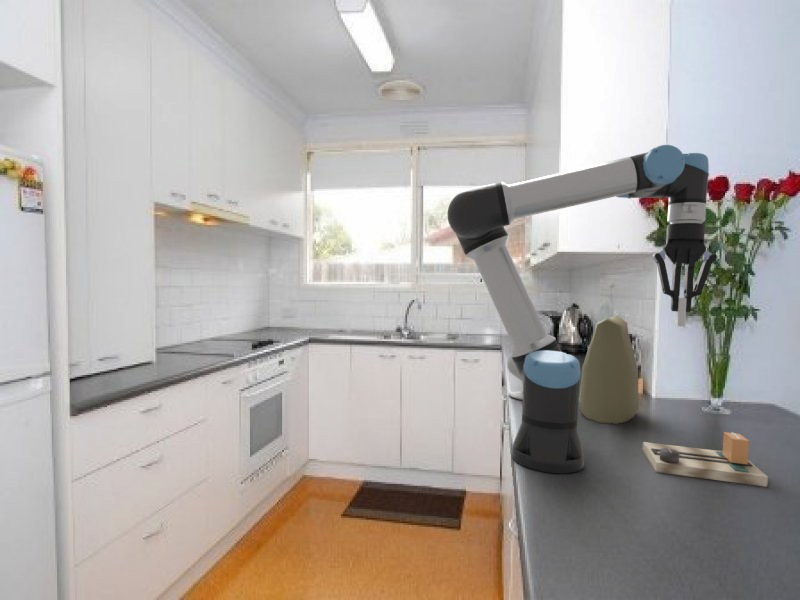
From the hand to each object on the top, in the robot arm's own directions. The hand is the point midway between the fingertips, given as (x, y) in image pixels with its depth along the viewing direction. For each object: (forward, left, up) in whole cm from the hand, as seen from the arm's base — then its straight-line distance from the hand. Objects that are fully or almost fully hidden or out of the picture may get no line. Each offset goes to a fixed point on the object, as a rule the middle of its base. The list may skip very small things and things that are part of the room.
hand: (679, 325), depth 111 cm
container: (-10, +33, -31) cm, 46 cm away
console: (+4, -6, -30) cm, 31 cm away
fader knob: (+10, -6, -28) cm, 30 cm away
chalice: (-34, +44, -31) cm, 64 cm away
